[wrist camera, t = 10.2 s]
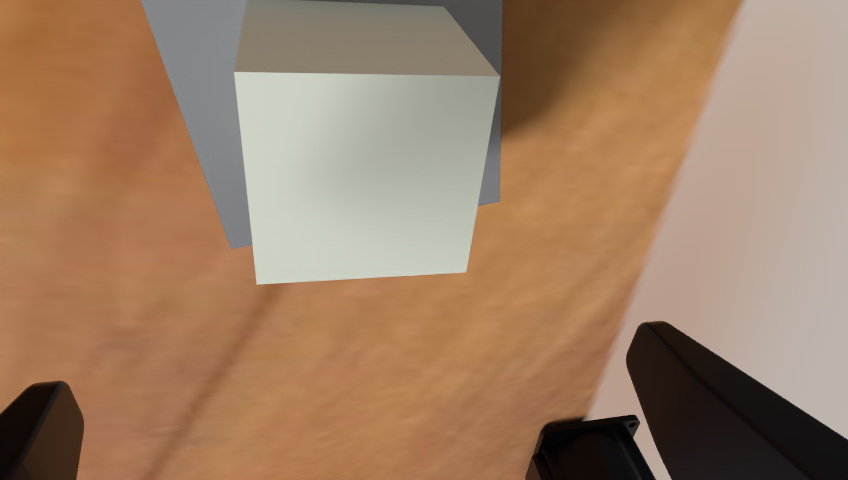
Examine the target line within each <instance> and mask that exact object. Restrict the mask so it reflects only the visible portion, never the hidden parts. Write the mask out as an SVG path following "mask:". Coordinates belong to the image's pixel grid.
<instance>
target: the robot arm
mask: <svg viewBox="0 0 848 480" xmlns="http://www.w3.org/2000/svg"><path fill="white" fill-rule="evenodd" d="M626 364H627V368H628V372H629V374H630V377H631V380H632V382H633V385H634V388H635V391H636V393H637V396H638V399H639V402H640V405H641V407H642V410H643V413H644V416H645V418H646V421H647V424H648V426H649V429H650V432H651V435H652V437H653V440H654V442H655V445H656V447H657V450H658V452H659V454H660V456H661V458H662V460H663V463H664V465H665V467H666V469H667V471H668V473H669V475H670V477H671V479H672V480H848V440H847V439H846V438H844V437H843V436H841V435H840V434H838V433H837V432H835V431H833V430H832V429H830V428H829V427H827V426H826V425H824V424H823V423H821V422H819V421H818V420H817V419H815V418H814V417H812V416H810V415H809V414H807V413H806V412H804V411H803V410H801V409H800V408H798V407H796V406H795V405H794V404H792V403H790V402H789V401H787V400H786V399H784V398H783V397H781V396H780V395H778V394H777V393H775V392H773V391H772V390H770V389H769V388H767V387H766V386H764V385H763V384H761V383H760V382H758V381H757V380H755V379H753V378H752V377H750V376H749V375H747V374H746V373H744V372H743V371H741V370H740V369H738V368H736V367H735V366H733V365H732V364H730V363H729V362H727V361H726V360H724V359H723V358H721V357H720V356H718V355H716V354H715V353H713V352H712V351H710V350H709V349H707V348H706V347H704V346H703V345H701V344H700V343H698V342H696V341H695V340H693V339H692V338H690V337H689V336H687V335H686V334H684V333H683V332H681V331H680V330H678V329H676V328H675V327H673V326H672V325H670V324H669V323H667V322H664V321H654V322H645V323H642V324H641V325H639V326H638V328H637V330H636V333H635V335H634V337H633V340H632V342H631V345H630V347H629V349H628V352H627V355H626ZM639 424H640V421H639V420H638V418H637V417H636V415H628V416H620V417H612V418H605V419H598V420H590V421H583V422H576V423H569V424H561V425H554V426H548V427H545V428H544V429H542V430H541V432H540V435H539V438H538V442H537V445H536V448H535V451H534V454H533V456H532V458H531V461H530V464H529V467H528V471H527V474H526V477H525V478H526V479H525V480H656V479H655V477H654V475H653V473H652V471H651V470H650V468H649V466H648V464H647V463H646V461H645V459H644V457H643V456H642V454H641V452H640V450H639V448H638V446H637V444H636V442H635V441H634V439H633V437H634V435H635V432H636V430H637V428H638V426H639ZM83 433H84V420H83V415H82V413H81V411H80V408H79V406H78V404H77V402H76V400H75V398H74V395H73V393H72V391H71V389H70V387H69V385H68V384H67V383H66V382H64V381H52V382H41V383H35V384H32V385H31V386H29V387H28V388H26V389H25V390H24V391H23V392H22V393H21V394H20V395H19V396H18V397H17V398H16V399H15V400H14V401H13V402H12V403H11V404H10V405H9V406H8V407H7V408H6V409H5V410H4V411H3V412H2V413H1V414H0V480H76V479H77V472H78V465H79V459H80V452H81V446H82V439H83Z"/></svg>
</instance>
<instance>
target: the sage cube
mask: <svg viewBox="0 0 848 480" xmlns="http://www.w3.org/2000/svg"><path fill="white" fill-rule="evenodd" d="M234 77H235V86H236V95H237V105H238V114H239V123H240V132H241V142H242V151H243V160H244V170H245V179H246V188H247V197H248V207H249V216H250V225H251V235H252V244H253V253H254V263H255V272H256V281H257V284H273V283H290V282H307V281H325V280H342V279H359V278H376V277H393V276H411V275H428V274H445V273H462V272H466V270H467V264H468V258H469V253H470V247H471V241H472V235H473V230H474V224H475V218H476V212H477V207H478V201H479V195H480V189H481V184H482V178H483V172H484V166H485V161H486V155H487V149H488V143H489V138H490V132H491V126H492V120H493V115H494V109H495V103H496V97H497V92H498V86H499V80H500V76H499V74H498V73H497V72H496V71H495V69H494V68H493V67H492V66H491V64H490V63H489V62H488V61H487V60H486V58H485V57H484V56H483V55H482V53H481V52H480V51H479V50H478V48H477V47H476V46H475V45H474V43H473V42H472V41H471V40H470V38H469V37H468V36H467V35H466V33H465V32H464V31H463V30H462V28H461V27H460V26H459V25H458V23H457V22H456V21H455V20H454V19H453V17H452V16H451V15H450V14H449V12H448V11H447V10H446V9H445V7H444V6H422V5H399V4H376V3H353V2H329V1H306V0H247V1H246V7H245V13H244V18H243V24H242V30H241V35H240V41H239V46H238V52H237V58H236V63H235V69H234Z"/></svg>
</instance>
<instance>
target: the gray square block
mask: <svg viewBox="0 0 848 480" xmlns="http://www.w3.org/2000/svg"><path fill="white" fill-rule="evenodd" d="M246 1H247V0H141V3H142V5H143V8H144V11H145V14H146V16H147V19H148V22H149V25H150V27H151V30H152V33H153V36H154V38H155V41H156V44H157V47H158V49H159V52H160V55H161V58H162V60H163V63H164V66H165V69H166V71H167V74H168V77H169V80H170V82H171V85H172V88H173V91H174V94H175V96H176V99H177V102H178V105H179V107H180V110H181V113H182V116H183V118H184V121H185V124H186V127H187V129H188V132H189V135H190V138H191V140H192V143H193V146H194V149H195V151H196V154H197V157H198V160H199V162H200V165H201V168H202V171H203V173H204V176H205V179H206V182H207V184H208V187H209V190H210V193H211V195H212V198H213V201H214V204H215V206H216V209H217V212H218V215H219V217H220V220H221V223H222V226H223V228H224V231H225V234H226V237H227V239H228V242H229V245H230V248H231V249H233V248H239V247H245V246H250V245H253V244H252V235H251V225H250V216H249V207H248V197H247V188H246V179H245V170H244V160H243V151H242V142H241V132H240V123H239V114H238V105H237V95H236V86H235V77H234V69H235V63H236V58H237V52H238V46H239V41H240V35H241V30H242V24H243V18H244V13H245V7H246ZM306 1H329V2H353V3H376V4H399V5H422V6H444V7H445V9H446V10H447V11H448V12H449V14H450V15H451V16H452V17H453V19H454V20H455V21H456V22H457V23H458V25H459V26H460V27H461V28H462V30H463V31H464V32H465V33H466V35H467V36H468V37H469V38H470V40H471V41H472V42H473V43H474V45H475V46H476V47H477V48H478V50H479V51H480V52H481V53H482V55H483V56H484V57H485V58H486V60H487V61H488V62H489V63H490V64H491V66H492V67H493V68H494V69H495V71H496V72H497V73H498V74H499V76H500V80H499V86H498V92H497V97H496V103H495V109H494V115H493V120H492V126H491V132H490V138H489V143H488V149H487V155H486V161H485V166H484V172H483V178H482V184H481V189H480V195H479V201H478V206H479V205H485V204H490V203H496V202H500V146H501V78H502V10H503V0H306Z"/></svg>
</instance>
